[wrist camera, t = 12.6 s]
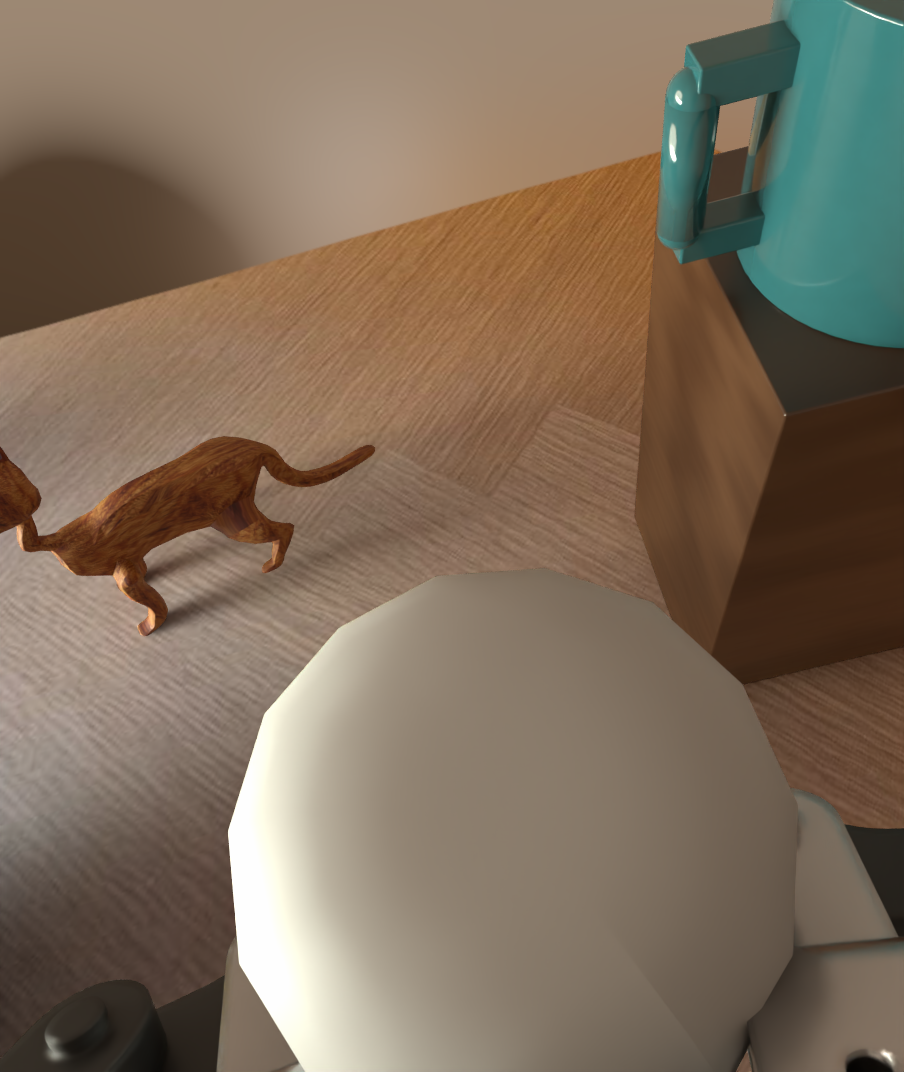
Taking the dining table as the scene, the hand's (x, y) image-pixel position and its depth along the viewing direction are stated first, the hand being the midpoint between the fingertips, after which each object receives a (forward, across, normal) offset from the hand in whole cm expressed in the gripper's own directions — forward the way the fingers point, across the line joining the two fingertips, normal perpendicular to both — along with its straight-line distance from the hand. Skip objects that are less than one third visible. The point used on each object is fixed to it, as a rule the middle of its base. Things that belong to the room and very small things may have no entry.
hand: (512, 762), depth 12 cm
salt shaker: (+3, 0, +6) cm, 7 cm away
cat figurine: (+35, +13, +3) cm, 37 cm away
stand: (+28, -13, +9) cm, 33 cm away
